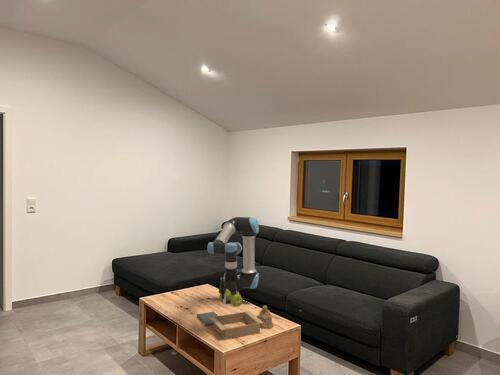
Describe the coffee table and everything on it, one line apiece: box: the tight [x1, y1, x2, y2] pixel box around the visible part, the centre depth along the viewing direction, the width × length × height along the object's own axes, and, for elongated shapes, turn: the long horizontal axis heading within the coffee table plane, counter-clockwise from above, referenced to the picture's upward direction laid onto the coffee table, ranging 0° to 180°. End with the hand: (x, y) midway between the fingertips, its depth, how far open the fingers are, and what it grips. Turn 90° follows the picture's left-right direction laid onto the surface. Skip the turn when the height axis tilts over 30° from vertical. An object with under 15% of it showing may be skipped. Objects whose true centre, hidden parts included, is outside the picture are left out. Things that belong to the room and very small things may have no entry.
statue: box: [256, 304, 275, 330], centre depth 252 cm, size 12×14×10 cm
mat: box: [196, 311, 218, 327], centre depth 260 cm, size 12×19×2 cm, turn 25°
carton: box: [210, 310, 263, 340], centre depth 244 cm, size 28×22×6 cm
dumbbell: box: [219, 289, 243, 308], centre depth 247 cm, size 16×8×7 cm, turn 37°
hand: (231, 302), depth 247 cm, fingers closed on dumbbell, 8 cm apart
